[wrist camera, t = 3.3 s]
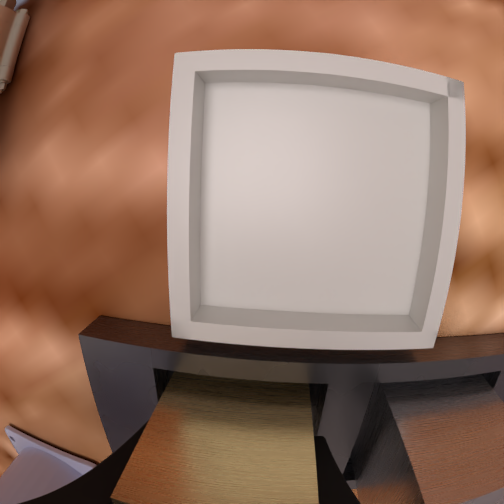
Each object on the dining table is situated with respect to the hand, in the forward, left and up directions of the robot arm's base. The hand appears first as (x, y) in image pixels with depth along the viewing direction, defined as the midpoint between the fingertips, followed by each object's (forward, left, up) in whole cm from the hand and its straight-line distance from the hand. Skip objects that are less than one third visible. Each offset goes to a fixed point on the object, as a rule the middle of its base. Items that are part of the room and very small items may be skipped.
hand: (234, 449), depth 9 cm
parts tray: (+8, -2, -2) cm, 9 cm away
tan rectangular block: (0, 0, -2) cm, 2 cm away
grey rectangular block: (0, -7, -2) cm, 7 cm away
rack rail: (0, -3, -2) cm, 4 cm away
